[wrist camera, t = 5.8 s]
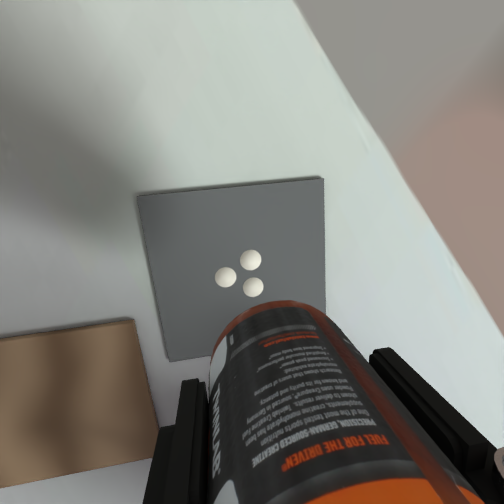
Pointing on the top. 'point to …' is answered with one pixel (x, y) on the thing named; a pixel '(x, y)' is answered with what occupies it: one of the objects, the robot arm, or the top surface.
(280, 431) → the supplement bottle
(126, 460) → the walnut board
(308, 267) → the dot mat
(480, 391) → the top surface
